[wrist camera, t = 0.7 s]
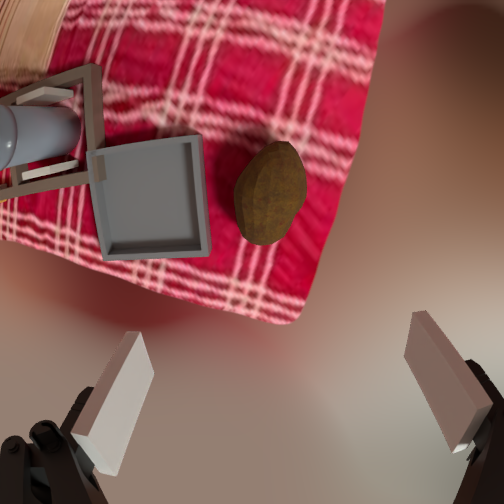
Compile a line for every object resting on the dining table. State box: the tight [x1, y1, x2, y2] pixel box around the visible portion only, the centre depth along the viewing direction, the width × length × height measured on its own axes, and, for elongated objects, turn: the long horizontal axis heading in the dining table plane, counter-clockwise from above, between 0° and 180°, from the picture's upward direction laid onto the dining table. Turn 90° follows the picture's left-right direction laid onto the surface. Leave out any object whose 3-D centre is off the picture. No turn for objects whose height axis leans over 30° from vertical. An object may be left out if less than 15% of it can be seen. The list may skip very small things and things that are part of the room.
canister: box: [0, 104, 81, 171], centre depth 30 cm, size 7×7×15 cm
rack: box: [0, 63, 107, 203], centre depth 34 cm, size 16×30×7 cm, turn 93°
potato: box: [234, 141, 307, 245], centre depth 36 cm, size 8×12×8 cm, turn 172°
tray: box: [86, 135, 212, 261], centre depth 38 cm, size 15×15×3 cm
